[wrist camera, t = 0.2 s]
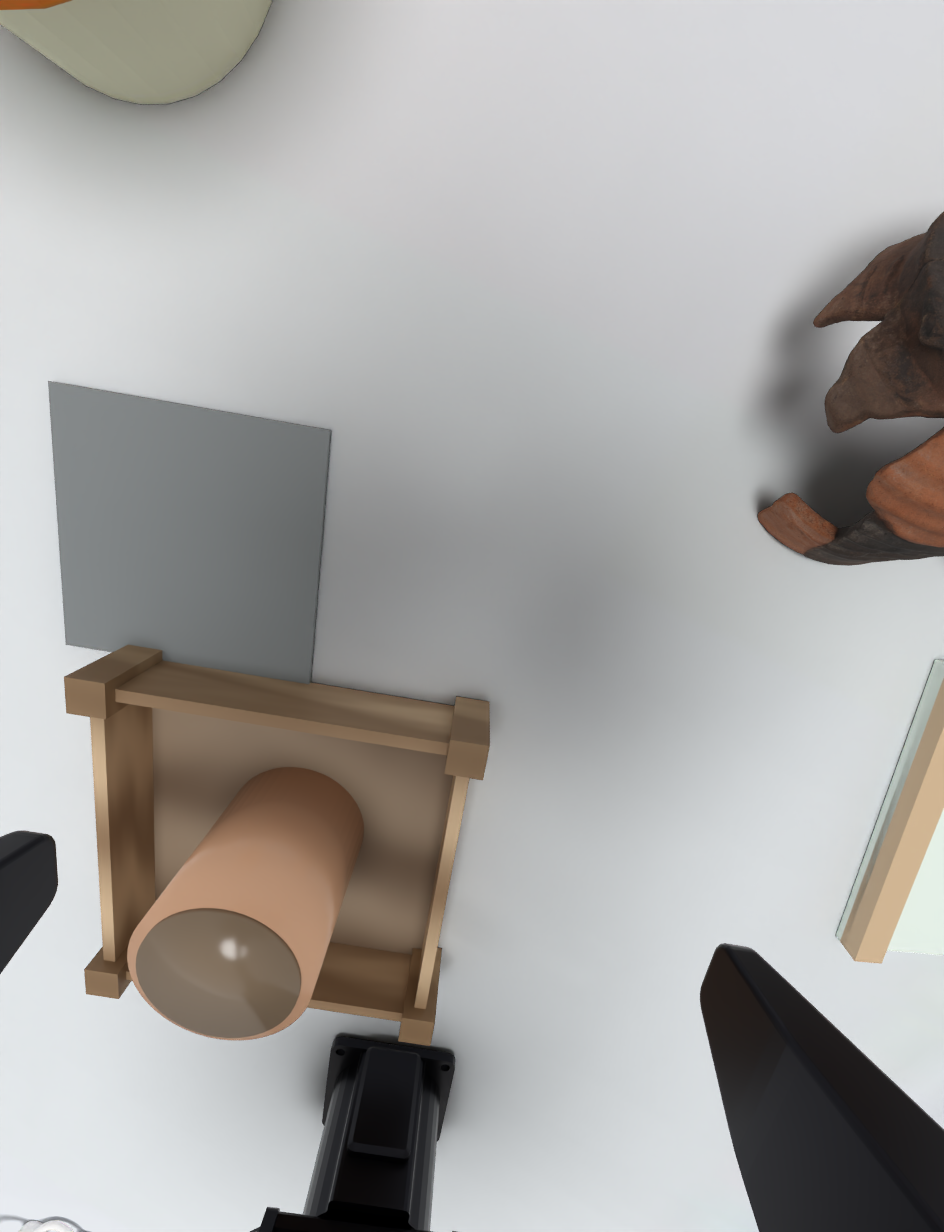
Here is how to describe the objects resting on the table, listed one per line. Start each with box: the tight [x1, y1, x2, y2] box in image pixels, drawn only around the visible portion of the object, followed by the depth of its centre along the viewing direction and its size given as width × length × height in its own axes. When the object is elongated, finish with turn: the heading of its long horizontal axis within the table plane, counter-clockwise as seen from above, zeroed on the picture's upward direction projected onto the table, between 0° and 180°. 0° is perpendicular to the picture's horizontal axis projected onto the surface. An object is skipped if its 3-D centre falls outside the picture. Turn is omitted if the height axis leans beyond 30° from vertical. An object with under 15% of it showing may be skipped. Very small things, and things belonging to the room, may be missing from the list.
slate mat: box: [48, 381, 331, 684], centre depth 20 cm, size 10×10×1 cm
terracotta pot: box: [127, 767, 364, 1040], centre depth 20 cm, size 6×6×7 cm
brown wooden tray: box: [64, 645, 490, 1046], centre depth 22 cm, size 15×15×4 cm
